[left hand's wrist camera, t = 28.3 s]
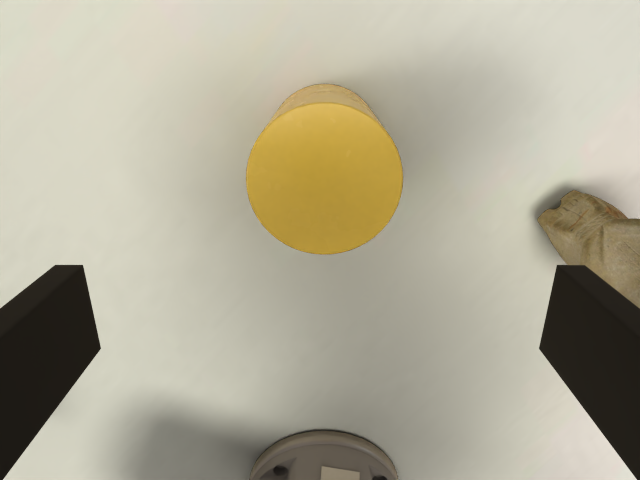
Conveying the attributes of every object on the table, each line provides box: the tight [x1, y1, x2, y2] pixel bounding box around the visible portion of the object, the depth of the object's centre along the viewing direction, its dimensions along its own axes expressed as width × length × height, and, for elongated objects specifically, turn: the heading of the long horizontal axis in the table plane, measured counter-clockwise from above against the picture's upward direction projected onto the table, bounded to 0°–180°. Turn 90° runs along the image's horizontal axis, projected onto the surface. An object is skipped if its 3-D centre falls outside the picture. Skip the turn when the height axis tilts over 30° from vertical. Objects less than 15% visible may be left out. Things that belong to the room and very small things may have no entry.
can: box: [246, 84, 403, 254], centre depth 28 cm, size 8×8×11 cm
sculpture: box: [538, 190, 640, 308], centre depth 29 cm, size 6×7×15 cm
